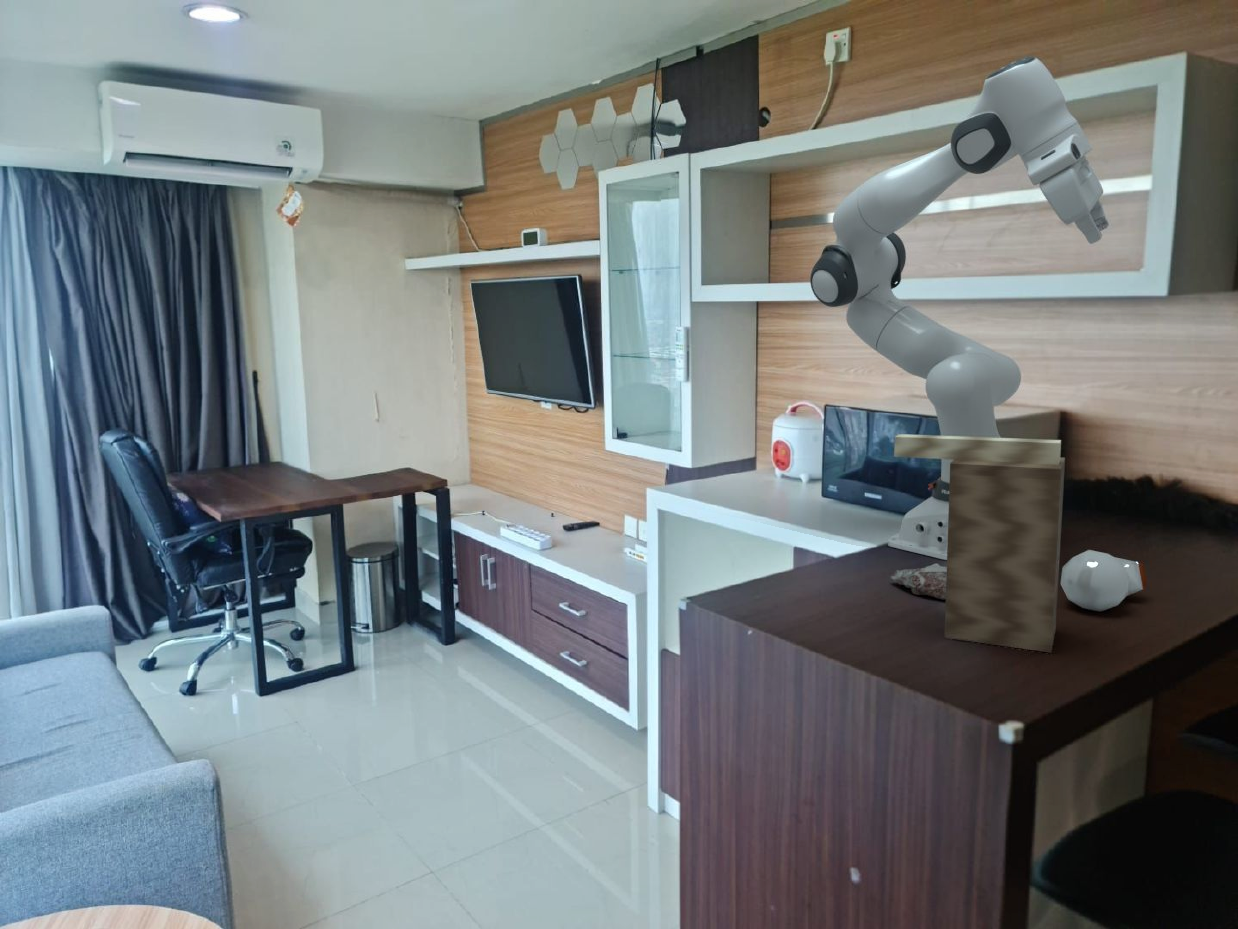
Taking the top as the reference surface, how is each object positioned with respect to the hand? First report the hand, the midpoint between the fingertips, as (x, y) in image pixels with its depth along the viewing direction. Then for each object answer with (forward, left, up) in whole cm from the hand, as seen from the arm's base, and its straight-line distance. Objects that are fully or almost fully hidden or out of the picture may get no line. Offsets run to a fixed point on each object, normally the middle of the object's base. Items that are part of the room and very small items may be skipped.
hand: (1100, 234), depth 134 cm
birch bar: (-7, -28, -32) cm, 43 cm away
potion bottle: (+4, -4, -58) cm, 59 cm away
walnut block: (-3, -27, -58) cm, 64 cm away
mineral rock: (-19, -14, -59) cm, 63 cm away
